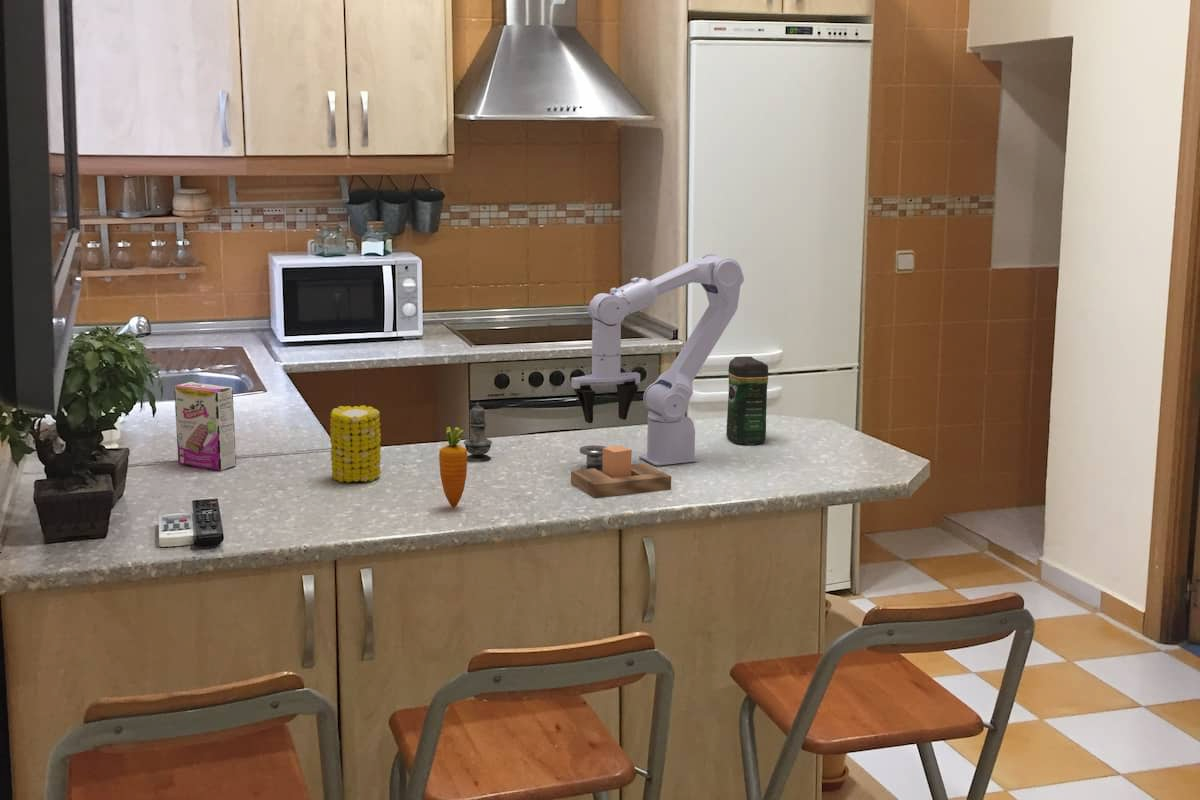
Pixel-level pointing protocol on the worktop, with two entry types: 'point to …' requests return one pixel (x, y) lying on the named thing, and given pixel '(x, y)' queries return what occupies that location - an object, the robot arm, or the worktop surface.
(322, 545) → the worktop surface
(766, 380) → the coffee jar
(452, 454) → the carrot
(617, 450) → the brown block
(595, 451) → the doorknob
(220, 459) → the candy bar box
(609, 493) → the notched board
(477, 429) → the salt shaker
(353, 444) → the food
